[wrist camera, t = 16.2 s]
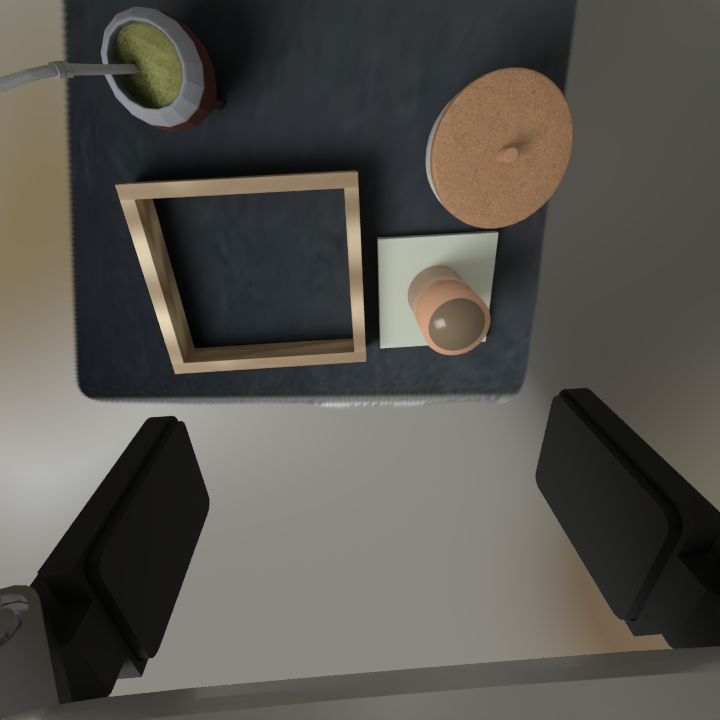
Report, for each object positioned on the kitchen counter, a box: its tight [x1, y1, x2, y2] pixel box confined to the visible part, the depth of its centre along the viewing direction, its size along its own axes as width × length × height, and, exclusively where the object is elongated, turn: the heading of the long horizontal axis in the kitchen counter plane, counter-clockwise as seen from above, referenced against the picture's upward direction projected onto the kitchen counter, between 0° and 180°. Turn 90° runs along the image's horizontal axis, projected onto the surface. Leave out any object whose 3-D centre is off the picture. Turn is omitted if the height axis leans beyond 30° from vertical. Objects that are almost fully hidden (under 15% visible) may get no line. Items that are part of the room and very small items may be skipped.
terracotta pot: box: [408, 266, 490, 355], centre depth 37 cm, size 6×6×8 cm
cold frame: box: [115, 170, 366, 374], centre depth 39 cm, size 18×20×4 cm
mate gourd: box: [0, 7, 224, 132], centre depth 26 cm, size 8×8×15 cm
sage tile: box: [377, 231, 498, 348], centre depth 41 cm, size 12×12×1 cm
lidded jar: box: [426, 67, 573, 228], centre depth 32 cm, size 11×11×9 cm
